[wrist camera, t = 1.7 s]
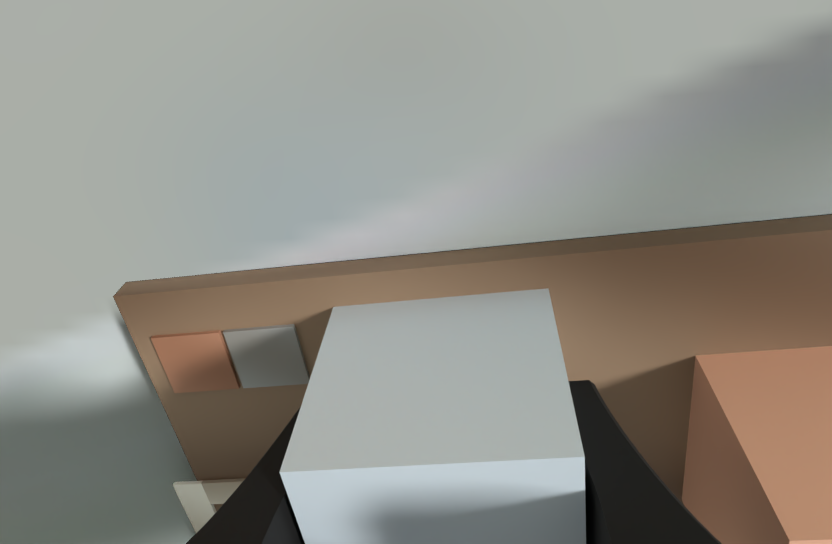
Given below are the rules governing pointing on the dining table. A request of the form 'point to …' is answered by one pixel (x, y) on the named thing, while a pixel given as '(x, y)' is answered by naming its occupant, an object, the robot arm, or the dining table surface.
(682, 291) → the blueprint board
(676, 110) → the dining table surface
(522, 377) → the grey blue block
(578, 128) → the dining table surface
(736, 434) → the terracotta block
